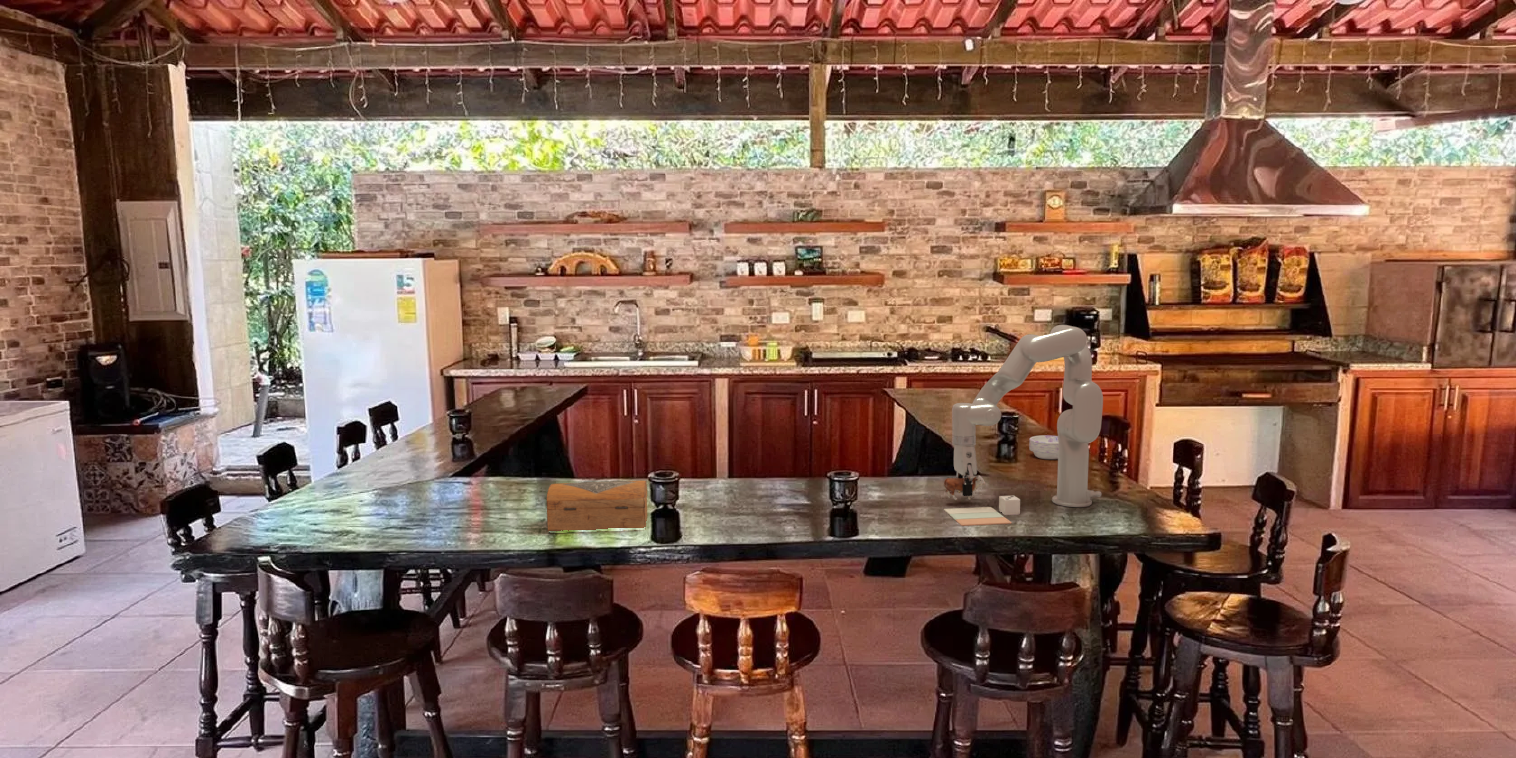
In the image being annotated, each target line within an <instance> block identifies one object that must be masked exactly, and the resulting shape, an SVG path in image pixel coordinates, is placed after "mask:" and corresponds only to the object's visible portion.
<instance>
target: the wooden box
mask: <svg viewBox="0 0 1516 758" xmlns="http://www.w3.org/2000/svg"><path fill="white" fill-rule="evenodd" d="M546 518H547V519H546V520H547V524H546V525H547V532H548V531H561V530H562V531H563V530H568V531H569V530H596V529H608V528H644V527H646V528H647V523H646V521H647V522H648V484H647V480H610V481H609V480H608V481H583V482H582V481H581V482H566V483H565V482H564V483H563V482H562V483H561V482H560V483H552V484H550V485H549V486H548V489H547V494H546Z"/></svg>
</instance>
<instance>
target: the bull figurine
mask: <svg viewBox="0 0 1516 758" xmlns="http://www.w3.org/2000/svg"><path fill="white" fill-rule="evenodd" d="M973 476H974V478H973V480H972V482H973V484H972V496H967V500H969V501H970V500H972V499H975V496H974V493H973V492H975V491H976V490H977V489H978V488H979V487H981V486H985V485H986V482H985V480H984V478H983V477H982V476H981V475H979V474H978V475H977V476H976V475H973ZM967 478H968V477H966V479H967ZM962 484H964V483H963V478H956V477H948V478H945V479H944V481H943V485H944V487H945V488H946V489H945V492H946V495H947V498H949V499H952V498H953V500H955V501H958V500H959V498H958V497H957V496H956V495H955V491H956V492H958V494H961V493H962V492H961V491H963V489H962Z"/></svg>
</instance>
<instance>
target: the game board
mask: <svg viewBox="0 0 1516 758" xmlns="http://www.w3.org/2000/svg"><path fill="white" fill-rule="evenodd" d="M943 511H944V512H945V513H946V514H947V515H949V517H951V518H952V519H953V520H954V521H956V523H958V525H960V526H961V527H965V526H966V527H969V526H989V525H990V526H991V525H1011V524H1012V523H1013V522H1012V521H1010V520H1009V519H1008V518H1006V517H1005V515H1004V516H1003V514H1002V513H1001V512H1000V513H999V512H998V510H996V509H994V508H993V507H991V506H981V507H979V506H978V507H960V508H959V507H958V508H957V507H956V508H943Z"/></svg>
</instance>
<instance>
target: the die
mask: <svg viewBox="0 0 1516 758" xmlns="http://www.w3.org/2000/svg"><path fill="white" fill-rule="evenodd" d="M998 497H999V498H998V511H999V512H1000V513H1001V512H1002V513H1001V514H1002V515H1004V516H1012V515H1013V516H1016V515H1017V516H1018V515H1020V513H1021V510H1020V509H1021V499H1020V498H1019V497H1017V496H1015V495H999V496H998Z"/></svg>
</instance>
